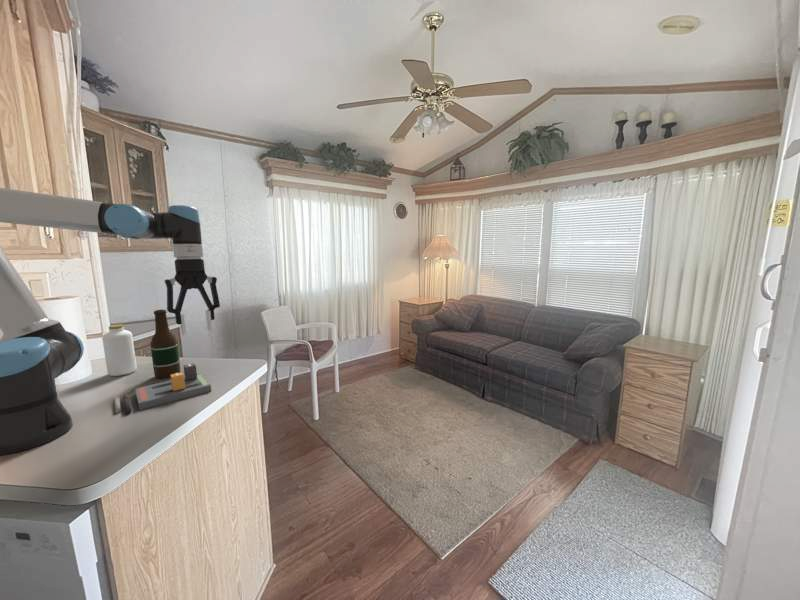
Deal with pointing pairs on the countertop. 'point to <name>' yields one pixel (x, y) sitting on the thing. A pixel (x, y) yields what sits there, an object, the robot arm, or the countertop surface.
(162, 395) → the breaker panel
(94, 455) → the countertop surface
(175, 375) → the block
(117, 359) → the white plastic bottle
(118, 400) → the cord grey near
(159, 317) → the beer bottle
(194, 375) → the block
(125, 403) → the cord black near
